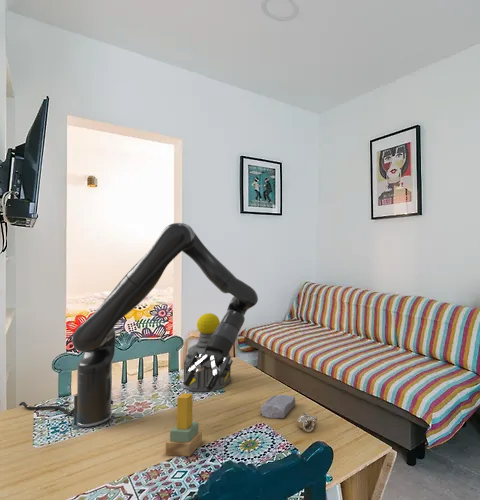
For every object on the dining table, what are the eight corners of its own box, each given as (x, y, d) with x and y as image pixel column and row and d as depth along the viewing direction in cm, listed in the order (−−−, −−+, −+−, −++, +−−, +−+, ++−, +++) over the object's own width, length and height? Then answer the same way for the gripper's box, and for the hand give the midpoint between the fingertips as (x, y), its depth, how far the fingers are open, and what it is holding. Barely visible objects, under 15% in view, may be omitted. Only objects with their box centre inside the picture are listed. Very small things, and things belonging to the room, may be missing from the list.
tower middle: (169, 441, 99) (169, 430, 99) (180, 431, 104) (180, 421, 104) (188, 442, 98) (188, 431, 98) (198, 432, 104) (198, 422, 104)
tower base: (165, 455, 98) (165, 442, 98) (179, 441, 105) (179, 429, 105) (189, 456, 98) (189, 444, 98) (202, 442, 105) (202, 430, 105)
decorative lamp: (239, 378, 154) (241, 311, 154) (210, 395, 137) (211, 319, 136) (204, 373, 160) (205, 308, 160) (172, 388, 142) (173, 315, 142)
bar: (176, 428, 100) (177, 397, 100) (182, 423, 103) (182, 393, 103) (186, 429, 100) (187, 398, 100) (192, 424, 103) (192, 393, 103)
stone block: (258, 421, 121) (285, 419, 119) (256, 407, 121) (283, 404, 119) (273, 407, 132) (297, 404, 130) (271, 394, 133) (295, 391, 131)
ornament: (322, 429, 113) (322, 418, 113) (302, 435, 110) (302, 423, 110) (312, 418, 120) (312, 408, 120) (293, 423, 117) (293, 412, 117)
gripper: (199, 331, 116) (171, 378, 105) (235, 336, 111) (209, 385, 101) (210, 343, 121) (184, 389, 110) (245, 348, 116) (221, 396, 106)
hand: (196, 387), depth 105 cm, fingers open, 8 cm apart
